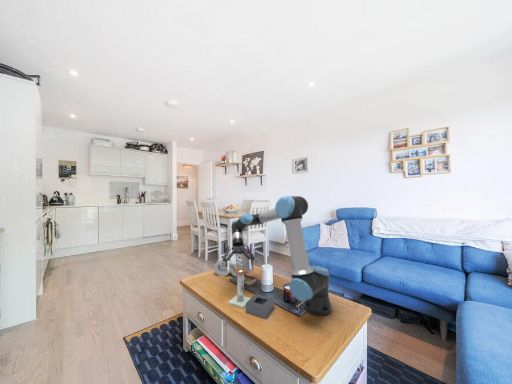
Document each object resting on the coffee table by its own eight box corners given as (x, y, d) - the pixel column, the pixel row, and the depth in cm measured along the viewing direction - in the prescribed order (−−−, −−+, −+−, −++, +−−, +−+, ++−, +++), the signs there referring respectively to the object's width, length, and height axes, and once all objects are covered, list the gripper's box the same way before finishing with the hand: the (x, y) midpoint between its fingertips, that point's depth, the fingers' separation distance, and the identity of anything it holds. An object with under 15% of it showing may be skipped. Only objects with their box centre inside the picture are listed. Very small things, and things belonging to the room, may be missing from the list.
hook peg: (247, 299, 125) (248, 269, 125) (242, 304, 120) (242, 272, 120) (238, 296, 128) (238, 267, 128) (232, 301, 122) (233, 270, 122)
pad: (251, 300, 126) (251, 298, 126) (243, 308, 117) (243, 306, 117) (237, 296, 131) (237, 294, 131) (228, 303, 122) (228, 302, 122)
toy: (246, 282, 151) (246, 254, 151) (233, 274, 165) (234, 249, 165) (257, 279, 157) (257, 252, 157) (244, 271, 171) (244, 247, 171)
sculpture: (236, 277, 167) (241, 259, 166) (235, 280, 160) (240, 261, 160) (215, 269, 169) (220, 252, 168) (212, 273, 162) (217, 254, 162)
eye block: (274, 307, 119) (274, 298, 119) (265, 318, 108) (266, 309, 108) (255, 302, 124) (255, 293, 124) (245, 312, 113) (245, 303, 113)
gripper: (255, 242, 146) (258, 272, 132) (218, 244, 142) (218, 274, 127) (256, 237, 141) (260, 267, 126) (219, 237, 137) (218, 269, 122)
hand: (239, 271), depth 127 cm, fingers open, 13 cm apart
